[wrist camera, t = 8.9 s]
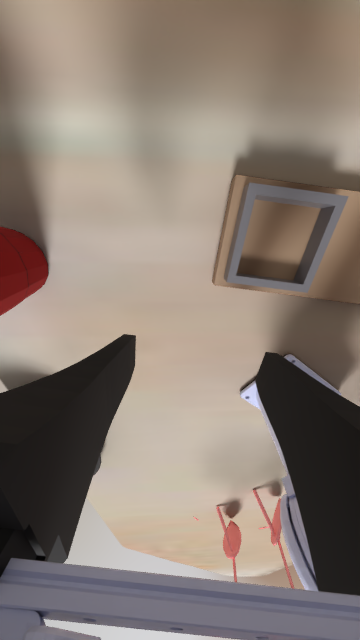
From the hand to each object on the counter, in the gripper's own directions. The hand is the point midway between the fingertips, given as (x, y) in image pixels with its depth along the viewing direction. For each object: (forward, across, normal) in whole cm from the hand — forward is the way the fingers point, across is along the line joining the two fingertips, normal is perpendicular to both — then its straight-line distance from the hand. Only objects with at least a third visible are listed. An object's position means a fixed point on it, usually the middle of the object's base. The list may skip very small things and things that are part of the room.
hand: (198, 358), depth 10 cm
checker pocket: (+8, -5, -6) cm, 12 cm away
